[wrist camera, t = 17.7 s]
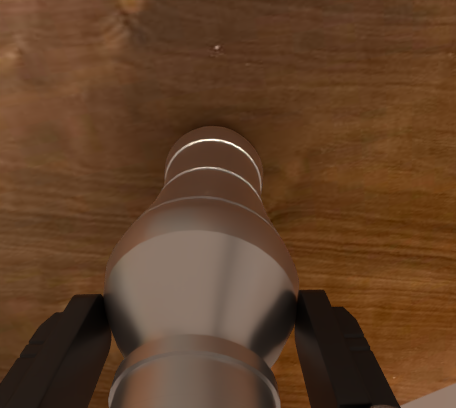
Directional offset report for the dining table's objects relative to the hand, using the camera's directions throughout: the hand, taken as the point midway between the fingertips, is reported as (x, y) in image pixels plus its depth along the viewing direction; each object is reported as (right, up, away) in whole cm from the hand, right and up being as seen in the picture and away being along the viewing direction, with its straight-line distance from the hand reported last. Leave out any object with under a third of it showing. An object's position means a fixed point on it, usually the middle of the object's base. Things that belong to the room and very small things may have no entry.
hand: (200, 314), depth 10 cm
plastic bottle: (0, +7, +14) cm, 16 cm away
